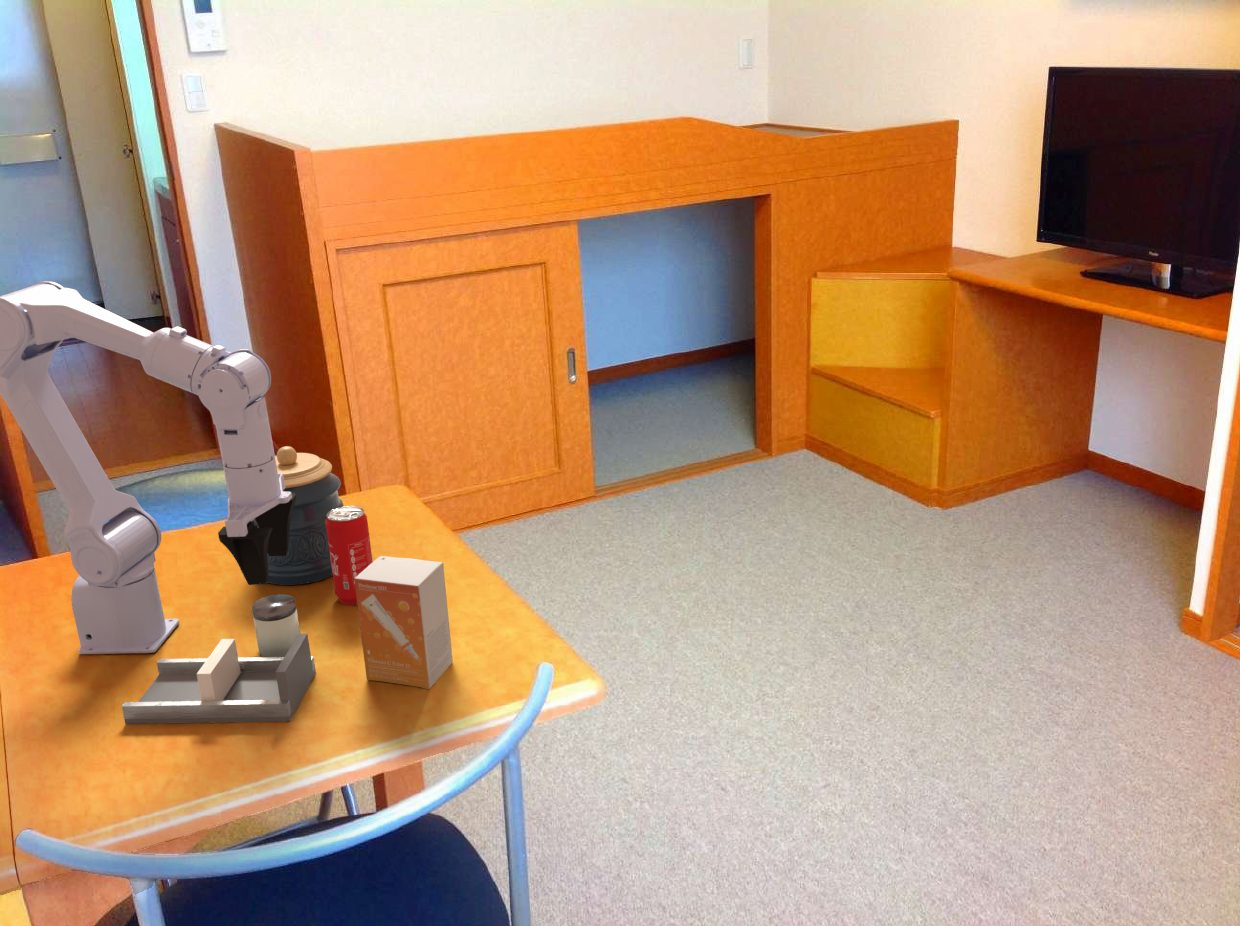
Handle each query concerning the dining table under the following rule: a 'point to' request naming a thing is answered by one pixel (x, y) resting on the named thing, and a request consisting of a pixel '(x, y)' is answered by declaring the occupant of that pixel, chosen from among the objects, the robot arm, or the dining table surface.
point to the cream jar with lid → (275, 624)
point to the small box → (404, 621)
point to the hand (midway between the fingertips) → (268, 568)
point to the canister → (305, 518)
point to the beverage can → (348, 549)
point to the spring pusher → (219, 671)
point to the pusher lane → (254, 697)
